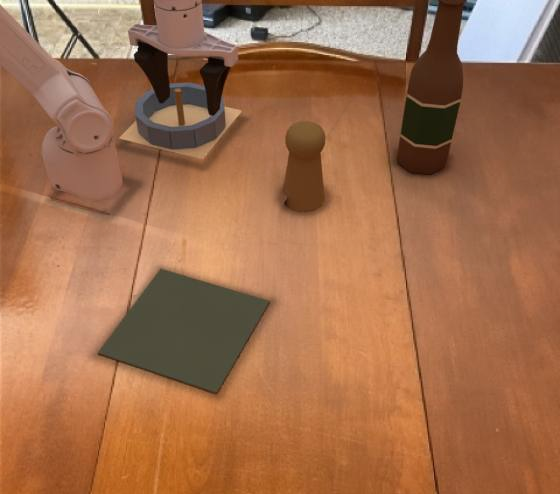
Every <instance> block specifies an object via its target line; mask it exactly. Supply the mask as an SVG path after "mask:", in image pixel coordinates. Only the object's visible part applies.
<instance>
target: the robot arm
mask: <svg viewBox="0 0 560 494" xmlns="http://www.w3.org/2000/svg"><path fill="white" fill-rule="evenodd" d="M153 5H154V12H155V21H156V25H154V24H153V25H151V24H140V23H134V24H133V25H132V26H131V27H130V28H128V30H127V33H128V34H127V35H128V41H129V44H130V46H134V47H137V51H135V52H134V54H133V59H134V62H135V63H136V64H137V65H138V66H139V67H140V69H141V70H142V72H143V73H144V74H145V76H146V78H147V80H148V81H149V83H150V85H151V87H152V89H153V90H154V92H155V94H156V97H157V99H158V101H159V103H162V104H163V103H164V102H165V101H166V100H167V99H168V98H169V97H170V84H171V83H170V77H169V55H172V56H184V57H185V56H186V57H187V56H189V57H196V58H201V59H205V60H207V62H206V63H204V65H203V66H202V67H201V68H200V69H199V74H200V75H199V76H200V77H201V79H202V82H203V84H204V85H203V86H205V90H206V96H207V108H208V113H209V115H212V116H214V115H215V114H216V113H217V112H218V111H219V109H220V104H221V97H223V92H224V88H225V85H226V81H227V78H228V76H229V73H230V71H231V69H232V68H233V66H235V64H237V62H238V61H239V48H238V47H239V46H238V44H234V43H230V42H228V41H225V40H223V39H221V38H219V37H217V36H215V35H212V34H210V33H208V32H207V31H205V25H204V12H203V1H202V0H153ZM0 66H1V67H2V69H4V70H5V71H6V72H7V73H8V74H9V75H10V76H12V77H13V79H15V80H16V81H17V82H18V83H19V84H20V85H21V86H22V87H23V88H24V89H25V90H27V91H28V92H29V93H30V95H32V96H33V98H34V99H35V100H36V101H37V103H38V104H39V106H40V107H41V108H42V109H43V111H44V112H45V113H46V115H47V116H48V117H49V118H50V120H52V121H53V122H54V123H55V124H56V125H57V126H53V127H51V128H50V129H49V130H48V131H47V132H46V134H45V135H44V138H43V140H42V144H41V157H42V161H43V165H44V168H45V171H46V174H47V178H48V180H49V184H50V187H51V188H52V189H55V190H57V191H60V192H64V193H67V194H70V195H72V196H74V197H76V198H77V199H79V200H82V201H86V202H99V201H104V200H107V199H110V198H112V197H114V196H115V195H117V194H118V193H119V192H120V191H121V189H122V188H123V186H124V185H123V184H124V180H123V176H122V171H121V167H120V162H119V158H118V151H117V148H116V147H117V146H116V143H115V138H114V122H113V119H112V117H111V115H110V114H109V112H108V111H107V110H106V109H105V107H104V106H103V104H102V102H101V101H100V99H99V97H98V96H97V94H96V92H95V90H94V87H93V86H92V83H91V82H90V80H89V79H88V78H87V77H85V76H84V75H83V74H81V73H78V72H76V71H73V70H70V69H69V68H67V67H66V66H65V65H64V64H63V63H62V62H61V61H60V60H58V59H56V58H54V57H53V56H52V55H50V53H48V52H47V50H46V49H45V48H44V47H43V46H42V45H41V44H40V43H39V42H38V41H37V40H36V39H35V38H34V37H33V36H32V35H31V34H30V33H29V32H28V30H27V29H25V28H24V27H23V26H22V25H21V24H20V23H19V22H18V21H17V20H16V19H15V18H14V16H12V14H11V13H9V11H8V10H7V9H6V8H5V7H3V5H2V4H0ZM50 200H52V201H54V202H58V203H62V204H64V205H68V206H71V207H75V208H78V209H83V210H86V211H90V212H93V213H96V214H100V215H104V216H110V215H111V213H109V212H106V211H103V210H99V209H95V208H91V207H88V206H84V205H82V204H78V203H73V202H70V201H68V200H63V199H59V198H56V197H53V196H50Z"/></svg>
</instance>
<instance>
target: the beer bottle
mask: <svg viewBox="0 0 560 494" xmlns="http://www.w3.org/2000/svg"><path fill="white" fill-rule="evenodd" d="M467 2H468V0H438V4H437V8H436V12H435V17H434V21H433V25H432V29H431V33H430V38H429V40H428V44H427V47H426V49H425V50H424V52H423V53H422V54H421V55H420V56H419V57H418V58H417V59H416V61H415V63H414V64H413V66H412V68H411V70H410V75H409V79H408V83H407V90H406V96H405V103H404V107H403V115H402V121H401V126H400V133H399V141H398V146H397V147H398V149H397V158H396V162H397V164H398V165H399V166H401V167H402V168H404V169H405V170H406V171H407V172H409V173H411V174H419V175H420V174H421V175H431V174H434V173H436V172H438V171H441V170H443V169H444V168H445V167H446V165H447V161H448V158H449V154H450V150H451V146H452V141H453V136H454V132H455V127H456V122H457V118H458V115H459V110H460V107H461V103H462V102H461V101H462V95H463V89H464V69H463V63H462V61H461V58H460V56H459V54H458V46H459V45H458V44H459V39H460V31H461V25H462V18H463V11H464V4H466V3H467Z"/></svg>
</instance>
